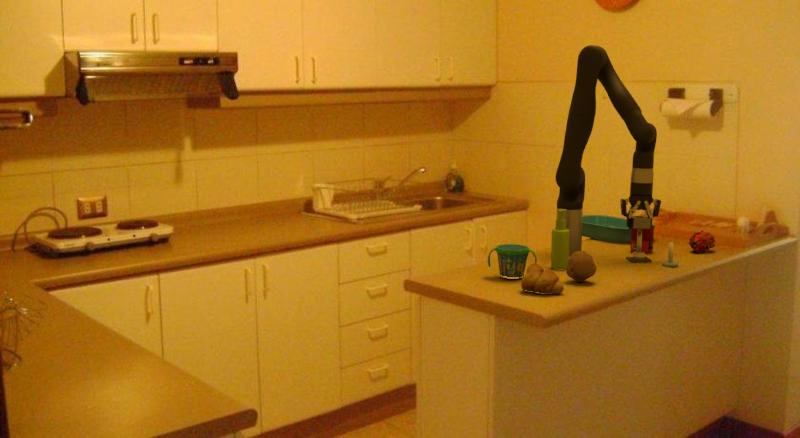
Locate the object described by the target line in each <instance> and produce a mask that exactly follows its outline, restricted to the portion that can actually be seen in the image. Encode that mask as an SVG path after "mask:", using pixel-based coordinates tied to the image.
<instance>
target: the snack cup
mask: <svg viewBox="0 0 800 438" xmlns="http://www.w3.org/2000/svg"><path fill="white" fill-rule="evenodd" d="M493 251H495V252H496V254H497V261H498V271H499V276H500V275H502V276H507V277H522V276H523V277H524V276H525V271H526V264H527V260H528V257H529V253H532V255H533V257H534V260H535V261H534V264H535V263H536V264H537V261H538V259H537V255H536V253H535V251H534V250H532V249H531V248H529V246H528V245H524V244H516V243H513V244H512V243H504V244H498V245H496V247H494V248H492V249H491V250H490V251H489V253H488V255H487V265H488V267H489V268H491V253H493Z"/></svg>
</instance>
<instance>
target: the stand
mask: <svg viewBox="0 0 800 438" xmlns="http://www.w3.org/2000/svg"><path fill="white" fill-rule="evenodd" d="M641 249H642V230H637V251H635V252H633V253H632V256H625V260H627V261H628V262H630V263H631V264H649V263H650V264H652V263H653V260H652V259H651V258H648V257H647V256H646V254H645V252H641Z"/></svg>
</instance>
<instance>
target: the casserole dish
mask: <svg viewBox="0 0 800 438" xmlns="http://www.w3.org/2000/svg"><path fill="white" fill-rule="evenodd" d="M626 221H627V218H625V217H620V216H619V217H618V216H615V215H614V216H611V215H606V214H583V215H582V237H585V238H589V239H594V240H599V241H605V242H609V243H615V244H622V245H623V244H631V229H629V228H628V227H627V226H626ZM655 227H656V224H655V223H654V229H655Z"/></svg>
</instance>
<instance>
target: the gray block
mask: <svg viewBox="0 0 800 438" xmlns="http://www.w3.org/2000/svg"><path fill="white" fill-rule="evenodd" d="M650 226H651V218H649V217H648V216H647V215H633V216H632V228H650Z"/></svg>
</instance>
